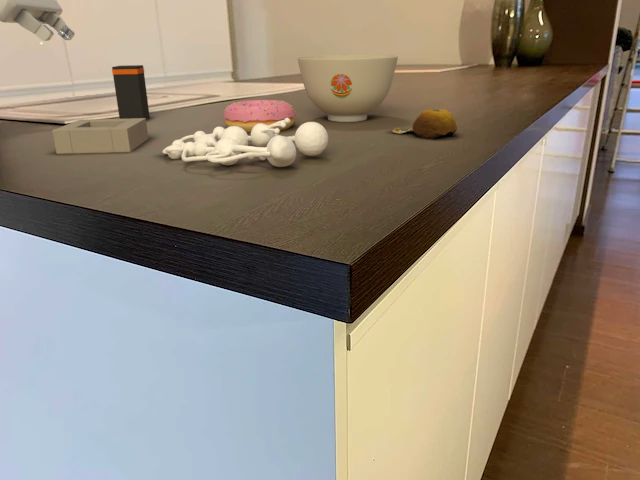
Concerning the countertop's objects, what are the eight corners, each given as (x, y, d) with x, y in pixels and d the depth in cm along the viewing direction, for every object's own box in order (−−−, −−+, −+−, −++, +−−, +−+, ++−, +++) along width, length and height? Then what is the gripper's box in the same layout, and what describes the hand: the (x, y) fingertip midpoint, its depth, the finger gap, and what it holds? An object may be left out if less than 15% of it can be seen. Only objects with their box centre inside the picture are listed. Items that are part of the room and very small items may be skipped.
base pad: (56, 154, 66) (51, 130, 65) (83, 141, 75) (79, 119, 74) (130, 153, 67) (127, 128, 66) (148, 139, 75) (145, 118, 74)
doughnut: (209, 130, 82) (206, 102, 80) (261, 121, 89) (260, 95, 88) (259, 138, 75) (257, 107, 73) (310, 127, 83) (310, 99, 81)
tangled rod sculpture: (130, 172, 62) (122, 137, 60) (216, 141, 72) (211, 110, 71) (262, 190, 51) (257, 148, 50) (339, 151, 62) (337, 115, 61)
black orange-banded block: (119, 123, 90) (111, 66, 87) (126, 119, 94) (119, 65, 91) (144, 122, 90) (136, 66, 87) (150, 119, 94) (143, 65, 91)
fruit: (438, 128, 80) (439, 103, 78) (472, 137, 72) (475, 110, 71) (388, 133, 77) (389, 107, 76) (419, 143, 70) (421, 114, 68)
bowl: (410, 116, 92) (413, 54, 88) (369, 130, 79) (370, 59, 76) (330, 111, 100) (329, 54, 96) (280, 123, 87) (277, 58, 83)
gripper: (-41, -55, 74) (47, 21, 78) (24, -37, 93) (92, 23, 97) (-66, -19, 75) (22, 54, 79) (3, -8, 94) (71, 50, 98)
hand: (61, 37), depth 88 cm, fingers open, 8 cm apart
